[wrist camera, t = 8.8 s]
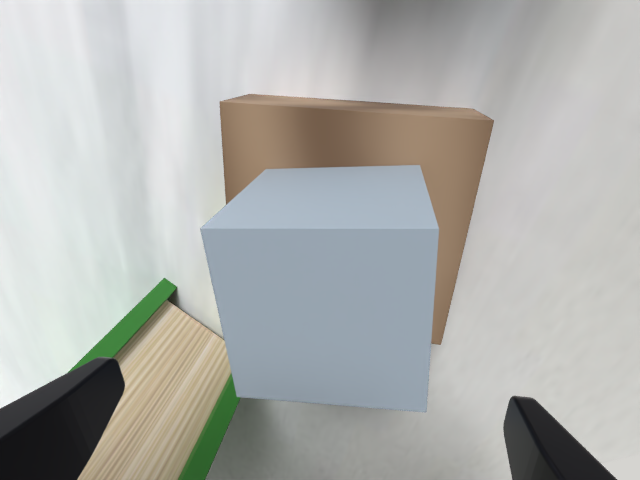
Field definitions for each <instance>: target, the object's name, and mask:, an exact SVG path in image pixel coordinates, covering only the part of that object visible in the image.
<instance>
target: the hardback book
mask: <svg viewBox="0 0 640 480" xmlns="http://www.w3.org/2000/svg"><path fill="white" fill-rule="evenodd" d="M176 288H177V287H176V286H175V285H174V284H172V283H171V282H169V281H168V280H167V279H165V278H164V279H163V280H162V281H161V282H160V283H159V284H158V285H157V286H156V287H155V288H154V289H153V290H152V291H151V292H150V293H149V294H148V295H147V296H146V297H144V298H143V299H142V300H141V301H140V302H139V303H138V304H137V305H136V306H135V307H134V308H133V309H132V310H131V311H130V312H129V313H128V314H127V315H126V316H125V317H124V318H123V319H122V320H121V321H120V322H119V323H118V324H117V325H116V326H115V327H114V328H113V329H112V330H111V331H110V332H109V333H108V334H107V335H106V336H105V337H104V338H103V339H102V340H101V341H100V342H99V343H97V344H96V345H95V346H94V347H93V348H92V349H91V350H90V351H89V352H88V353H87V354H86V355H85V356H84V357H83V358H82V359H81V360H80V361H79V362H78V363H77V364H76V365H75V366H74V367H73V368H72V369H71V370H70V371H69V372H71V371H72V370H74V369H76V368H78V367H80V366H82V365H84V364H86V363H87V362H89V361H91V360H93V359H95V358H97V357H110V358H115V359H116V360H117V361H118V363H119V366H120V369H121V372H122V375H123V378H124V381H125V390H124V393H123V395H122V397H121V399H120V401H119V403H118V405H117V407H116V409H115V411H114V413H113V415H112V417H111V419H110V421H109V423H108V425H107V427H106V429H105V431H104V433H103V435H102V437H101V439H100V441H99V443H98V445H97V447H96V449H95V451H94V452H93V454H92V456H91V458H90V460H89V461H88V463H87V465H86V466H85V468H84V470H83V471H82V473H81V474H80V476H79V478H78V479H77V480H205V478H206V476H207V474H208V471H209V469H210V467H211V464H212V462H213V460H214V458H215V455H216V453H217V451H218V448H219V446H220V444H221V441H222V439H223V437H224V435H225V432H226V430H227V428H228V425H229V423H230V421H231V418H232V416H233V414H234V412H235V409H236V407H237V405H238V402H239V400H240V398H241V397H237V396H236V391H235V386H234V382H233V377H232V373H231V368H230V363H229V359H228V354H227V349H226V345H225V341H224V340H223V339H222V338H220V337H219V336H217V335H216V334H214V333H213V332H212V331H210V330H209V329H207V328H206V327H205V326H203V325H202V324H200V323H199V322H197V321H196V320H195V319H193V318H192V317H190V316H189V315H188V314H186V313H185V312H183V311H182V310H180V309H179V308H178V307H176V306H175V305H173V304H172V303H170V302H169V301H168V299H169V298H170V296H171V295H172V293H173V292H174V291H175V289H176ZM69 372H68V373H69Z"/></svg>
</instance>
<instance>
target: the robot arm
mask: <svg viewBox="0 0 640 480" xmlns="http://www.w3.org/2000/svg"><path fill="white" fill-rule="evenodd" d="M124 390H125V381H124V378H123V375H122V372H121V369H120V366H119V363H118V361H117V360H116V359H115V358H110V357H97V358H95V359H93V360H91V361H89V362H87V363H86V364H84V365H82V366H80V367H78V368H76V369H74V370H72V371H71V372H69V373H67V374H65V375H63V376H61V377H59V378H57V379H55V380H54V381H52V382H50V383H48V384H46V385H44V386H42V387H40V388H38V389H37V390H35V391H33V392H31V393H29V394H27V395H25V396H23V397H21V398H20V399H18V400H16V401H14V402H12V403H10V404H8V405H6V406H4V407H3V408H1V409H0V480H77V479H78V478H79V476H80V474H81V473H82V471H83V470H84V468H85V466H86V465H87V463H88V461H89V460H90V458H91V456H92V454H93V452H94V451H95V449H96V447H97V445H98V443H99V441H100V439H101V437H102V435H103V433H104V431H105V429H106V427H107V425H108V423H109V421H110V419H111V417H112V415H113V413H114V411H115V409H116V407H117V405H118V403H119V401H120V399H121V397H122V395H123V393H124ZM503 429H504V438H505V443H506V448H507V454H508V459H509V464H510V469H511V474H512V480H617V479H616V478H615V477H614V476H613V475H612V474H611V473H610V472H609V471H608V470H607V469H606V468H605V467H604V466H603V465H602V464H601V463H600V462H599V461H597V460H596V459H595V458H594V457H593V456H592V455H591V454H590V453H589V452H588V451H587V450H586V449H585V448H584V447H583V446H582V445H581V444H580V443H579V442H578V441H577V440H576V439H575V438H574V437H573V436H572V435H571V434H570V433H569V432H568V431H567V430H566V429H565V428H564V427H563V426H562V425H561V424H560V423H559V422H558V421H557V420H556V419H555V418H554V417H552V416H551V415H550V414H549V413H548V412H547V411H546V410H545V409H544V408H543V407H542V406H541V405H540V404H539V403H538V402H537V401H536V400H535V399H533V398H530V397H520V396H513V397H511V398H510V400H509V404H508V408H507V412H506V416H505V420H504V427H503Z"/></svg>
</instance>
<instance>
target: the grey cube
mask: <svg viewBox="0 0 640 480" xmlns="http://www.w3.org/2000/svg"><path fill="white" fill-rule="evenodd" d="M200 230H201V234H202V239H203V244H204V248H205V253H206V257H207V262H208V267H209V271H210V276H211V280H212V285H213V290H214V294H215V299H216V303H217V308H218V313H219V317H220V322H221V326H222V331H223V336H224V340H225V345H226V349H227V354H228V359H229V363H230V368H231V373H232V377H233V382H234V386H235V391H236V396H237V397H244V398H256V399H268V400H280V401H293V402H305V403H317V404H329V405H341V406H354V407H366V408H378V409H390V410H402V411H414V412H426V410H427V396H428V381H429V367H430V353H431V338H432V324H433V309H434V295H435V281H436V266H437V252H438V237H439V227H438V224H437V220H436V217H435V214H434V210H433V207H432V204H431V200H430V197H429V194H428V190H427V187H426V184H425V180H424V177H423V174H422V170H421V167H420V165H400V166H362V167H325V168H287V169H265V170H264V171H263V172H262V173H261V174H260V175H259V176H258V177H257V178H255V179H254V180H253V181H252V182H251V183H250V184H249V185H248V186H247V187H246V188H244V189H243V190H242V191H241V192H240V193H239V194H238V195H237V196H236V197H234V198H233V199H232V200H231V201H230V202H229V203H228V204H227V205H226V206H225V207H223V208H222V209H221V210H220V211H219V212H218V213H217V214H216V215H215V216H213V217H212V218H211V219H210V220H209V221H208V222H207V223H206V224H205V225H204V226H202V227H201V228H200Z"/></svg>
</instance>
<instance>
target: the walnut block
mask: <svg viewBox="0 0 640 480" xmlns="http://www.w3.org/2000/svg"><path fill="white" fill-rule="evenodd" d="M220 116H221V132H222V147H223V163H224V179H225V194H226V205H227V204H228V203H229V202H230V201H231V200H232V199H233V198H234V197H236V196H237V195H238V194H239V193H240V192H241V191H242V190H243V189H244V188H246V187H247V186H248V185H249V184H250V183H251V182H252V181H253V180H254V179H255V178H257V177H258V176H259V175H260V174H261V173H262V172H263V171H264V170H265V169H287V168H325V167H362V166H400V165H420V167H421V170H422V174H423V177H424V180H425V184H426V187H427V190H428V194H429V197H430V200H431V204H432V207H433V210H434V214H435V217H436V220H437V224H438V227H439V237H438V252H437V266H436V281H435V295H434V309H433V324H432V338H431V343H432V344H439V345H441V342H442V338H443V334H444V329H445V325H446V321H447V317H448V313H449V308H450V304H451V300H452V296H453V292H454V287H455V283H456V279H457V275H458V270H459V266H460V262H461V258H462V254H463V249H464V245H465V241H466V237H467V233H468V228H469V224H470V220H471V216H472V211H473V207H474V203H475V199H476V195H477V190H478V186H479V182H480V178H481V174H482V169H483V165H484V161H485V157H486V152H487V148H488V144H489V140H490V136H491V131H492V127H493V123H494V120H492V119H490V118H489V117H487V116H485V115H483V114H481V113H480V112H478V111H476V110H474V109H469V108H454V107H439V106H423V105H408V104H393V103H378V102H363V101H348V100H333V99H318V98H303V97H288V96H272V95H257V94H248V95H244V96H240V97H236V98H232V99H228V100H224V101H220Z"/></svg>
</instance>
